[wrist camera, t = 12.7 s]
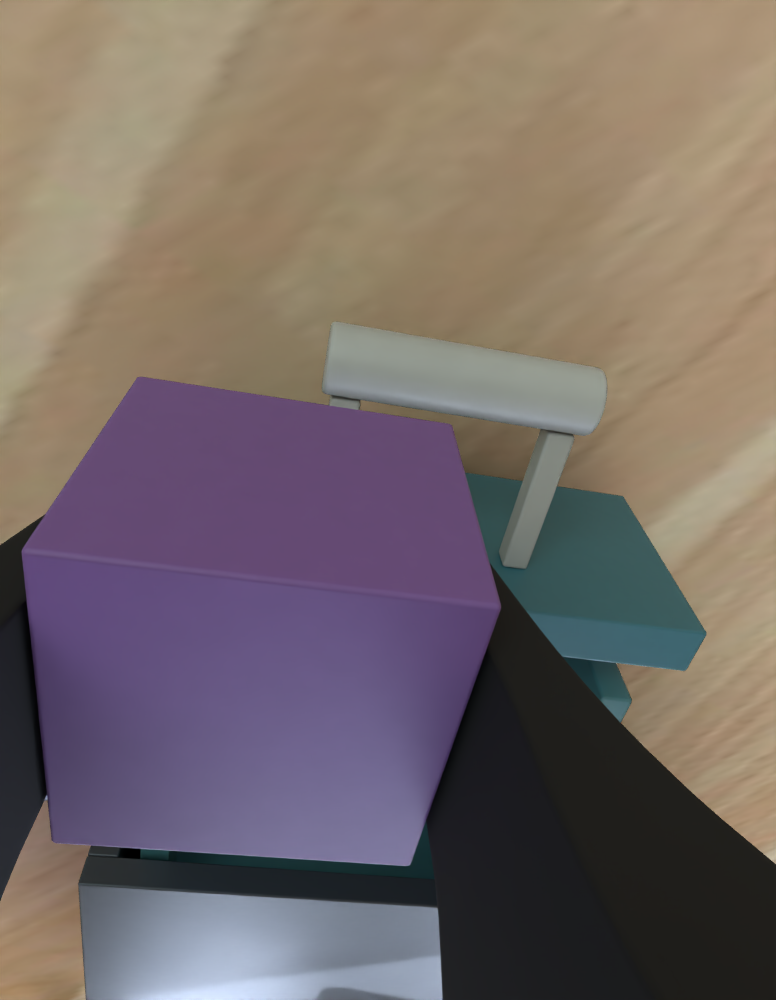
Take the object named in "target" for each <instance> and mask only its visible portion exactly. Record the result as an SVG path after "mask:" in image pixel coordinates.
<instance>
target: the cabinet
mask: <svg viewBox="0 0 776 1000" xmlns="http://www.w3.org/2000/svg"><path fill="white" fill-rule="evenodd" d="M140 855H141V849H139V848H123V847H108V846H93V845H91V847H90V850H89V853H88V857H87V859H86V862H85V865H84V868H83V871H82V874H81V877H80V880H79V883H78V886H79V901H80V916H81V932H82V947H83V962H84V977H85V992H86V1000H443V997H442V977H441V957H440V937H439V917H438V907H437V897H436V888H435V879H422V878H408V877H393V876H379V875H364V874H349V873H335V872H320V871H306V870H291V869H277V868H262V867H248V866H233V865H219V864H204V863H190V862H175V861H160V860H146V859H140Z"/></svg>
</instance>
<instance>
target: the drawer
mask: <svg viewBox="0 0 776 1000" xmlns="http://www.w3.org/2000/svg"><path fill="white" fill-rule="evenodd" d="M322 392H323V393H325V394H328V395H330V400H329V406H336V407H342V408H349V409H355V410H360V400H365V401H371V402H378V403H384V404H390V405H396V406H402V407H409V408H415V409H421V410H427V411H433V412H439V413H446V414H452V415H458V416H464V417H470V418H477V419H483V420H489V421H495V422H501V423H507V424H514V425H520V426H526V427H532V428H538V429H541V430H540V433H539V436H538V438H537V441H536V444H535V447H534V450H533V453H532V456H531V459H530V462H529V465H528V468H527V471H526V474H525V476H524V479H523V481H518V480H512V479H505V478H499V477H492V476H485V475H479V474H472V473H465V475H466V478H467V482H468V486H469V489H470V493H471V497H472V500H473V504H474V508H475V511H476V515H477V519H478V522H479V526H480V530H481V533H482V537H483V541H484V544H485V548H486V552H487V555H488V559H489V563H490V564H491V565H492V566H493V568H494V569H495V570H496V572H497V573H498V574H499V576H500V577H501V578H502V580H503V581H504V582H505V584H506V585H507V586H508V588H509V589H510V590H511V592H512V593H513V594H514V596H515V597H516V598H517V600H518V601H519V602H520V604H521V605H522V606H523V608H524V609H525V610H526V611H527V613H528V614H529V615H530V617H531V618H532V619H533V621H534V622H535V623H536V624H537V626H538V627H539V628H540V630H541V631H542V632H543V633H544V635H545V636H546V637H547V638H548V640H549V641H550V642H551V643H552V645H553V646H554V647H555V648H556V650H557V651H558V652H559V653H560V654H561V656H562V657H563V658H564V659H565V661H566V662H567V663H568V664H569V665H570V667H571V668H572V669H573V670H574V671H575V672H576V674H577V675H578V676H579V677H580V678H581V679H582V681H583V682H584V683H585V684H586V685H587V686H588V688H589V689H590V690H591V691H592V692H593V693H594V694H595V695H596V696H597V697H598V699H599V700H600V701H601V702H602V703H603V704H604V705H605V706H606V707H607V708H608V710H609V711H610V712H611V713H612V714H613V715H614V716H615V717H616V718H617V719H618V721H619V722H620V723H621V721H622V719H623V717H624V715H625V714H626V712H627V710H628V708H629V706H630V704H631V702H632V699H631V697H630V694H629V692H628V690H627V687H626V685H625V683H624V680H623V678H622V676H621V673H620V671H619V669H618V667H617V664H616V663H621V664H629V665H638V666H647V667H655V668H664V669H673V670H681V671H685V670H686V669H687V668H688V666H689V664H690V662H691V661H692V659H693V657H694V656H695V654H696V652H697V650H698V649H699V647H700V645H701V643H702V642H703V640H704V638H705V636H706V631H705V630H704V628H703V626H702V625H701V623H700V621H699V620H698V618H697V616H696V615H695V613H694V612H693V610H692V608H691V607H690V605H689V603H688V602H687V600H686V598H685V597H684V595H683V594H682V592H681V590H680V589H679V587H678V585H677V584H676V582H675V580H674V579H673V577H672V576H671V574H670V572H669V571H668V569H667V567H666V566H665V564H664V562H663V561H662V559H661V557H660V556H659V554H658V553H657V551H656V549H655V548H654V546H653V544H652V543H651V541H650V539H649V538H648V536H647V535H646V533H645V531H644V530H643V528H642V526H641V525H640V523H639V521H638V520H637V518H636V517H635V515H634V513H633V512H632V510H631V508H630V507H629V505H628V503H627V502H626V500H625V499H624V497H623V496H618V495H611V494H605V493H598V492H592V491H585V490H578V489H572V488H565V487H558V486H557V485H558V482H559V480H560V477H561V474H562V472H563V469H564V466H565V464H566V461H567V458H568V456H569V453H570V450H571V447H572V445H573V442H574V435H573V434H575V435H582V436H585V435H588V434H590V433H592V432H593V431H594V430H595V428H596V427H597V425H598V424H599V422H600V420H601V417H602V415H603V412H604V408H605V404H606V399H607V379H606V375H605V373H604V372H603V371H602V370H601V369H600V368H597V367H592V366H586V365H580V364H575V363H569V362H563V361H558V360H552V359H546V358H541V357H535V356H529V355H524V354H518V353H512V352H507V351H501V350H495V349H490V348H484V347H478V346H473V345H467V344H461V343H456V342H450V341H444V340H439V339H433V338H427V337H421V336H416V335H410V334H404V333H399V332H393V331H387V330H382V329H376V328H370V327H365V326H359V325H353V324H348V323H342V322H333V323H332V325H331V328H330V333H329V339H328V346H327V352H326V359H325V366H324V373H323V381H322ZM140 859H146V860H160V861H175V862H190V863H204V864H219V865H233V866H248V867H262V868H277V869H291V870H306V871H320V872H335V873H349V874H364V875H379V876H393V877H408V878H422V879H435V878H434V871H433V864H432V857H431V850H430V843H429V836H428V829H427V823H426V822H425V825H424V828H423V831H422V833H421V836H420V839H419V842H418V845H417V848H416V850H415V853H414V856H413V859H412V862H411V864H410V865H408V866H398V865H383V864H368V863H353V862H337V861H322V860H307V859H291V858H276V857H261V856H246V855H230V854H215V853H200V852H185V851H169V850H154V849H141V855H140Z"/></svg>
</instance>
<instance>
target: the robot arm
mask: <svg viewBox="0 0 776 1000" xmlns="http://www.w3.org/2000/svg"><path fill="white" fill-rule="evenodd" d="M44 516H45V515H43V516H42V517H41V518H39V519H38V520H36V521H35V522H33V523H32V524H30V525H29V526H27V527H26V528H24V529H23V530H22V531H20V532H19V533H17V534H16V535H14V536H13V537H11V538H10V539H9V540H7V541H6V542H4V543H3V544H1V545H0V901H1V898H2V895H3V892H4V890H5V887H6V885H7V883H8V880H9V878H10V875H11V873H12V871H13V868H14V866H15V863H16V861H17V859H18V856H19V854H20V852H21V849H22V847H23V845H24V843H25V841H26V839H27V837H28V834H29V832H30V830H31V828H32V826H33V824H34V821H35V819H36V817H37V815H38V813H39V811H40V809H41V806H42V804H43V802H44V801H45V800H48V799H47V789H46V780H45V770H44V761H43V751H42V742H41V732H40V723H39V713H38V704H37V694H36V685H35V675H34V666H33V656H32V647H31V637H30V628H29V618H28V609H27V599H26V590H25V580H24V571H23V561H22V549H23V547H24V546H25V544H26V543H27V541H28V540H29V538H30V537H31V535H32V534H33V532H34V531H35V529H36V528H37V526H38V525H39V523H40V522H41V520H42V519H43V517H44ZM490 566H491V570H492V574H493V577H494V581H495V585H496V588H497V592H498V596H499V600H500V603H501V610H500V613H499V616H498V618H497V621H496V624H495V627H494V630H493V633H492V635H491V638H490V641H489V644H488V647H487V650H486V652H485V655H484V658H483V661H482V664H481V667H480V669H479V672H478V675H477V678H476V681H475V683H474V686H473V689H472V692H471V695H470V698H469V700H468V703H467V706H466V709H465V712H464V715H463V717H462V720H461V723H460V726H459V729H458V732H457V734H456V737H455V740H454V743H453V746H452V749H451V751H450V754H449V757H448V760H447V763H446V766H445V768H444V771H443V774H442V777H441V780H440V783H439V785H438V788H437V791H436V794H435V797H434V799H433V802H432V805H431V808H430V811H429V814H428V816H427V819H426V823H427V829H428V836H429V843H430V850H431V857H432V864H433V871H434V878H435V888H436V897H437V907H438V917H439V937H440V957H441V977H442V997H443V1000H776V864H775V863H774V862H772V861H771V860H770V859H769V858H768V857H766V856H765V855H764V854H763V853H762V852H760V851H759V850H758V849H757V848H756V847H754V846H753V845H752V844H751V843H750V842H748V841H747V840H746V839H745V838H744V837H743V836H741V835H740V834H739V833H738V832H737V831H735V830H734V829H733V828H732V827H731V826H729V825H728V824H727V823H726V822H725V821H723V820H722V819H721V818H720V817H719V816H718V815H716V814H715V813H714V812H713V811H712V810H711V809H710V808H709V807H707V806H706V805H705V804H704V803H703V802H702V801H701V800H700V799H698V798H697V797H696V796H695V795H694V794H693V793H692V792H691V791H690V790H688V789H687V788H686V787H685V786H684V785H683V784H682V783H681V782H680V781H679V780H678V779H677V778H676V777H675V776H674V775H673V774H672V773H671V772H670V771H669V770H668V769H667V768H665V767H664V766H663V765H662V764H661V763H660V762H659V761H658V760H657V759H656V758H655V757H654V756H653V755H652V754H651V753H650V752H649V751H648V750H647V749H646V748H645V747H644V746H643V745H642V744H641V743H640V742H639V741H638V740H637V739H636V738H635V737H634V736H633V735H632V734H631V733H630V732H629V731H628V730H627V729H626V728H625V727H624V726H623V725H622V724H621V723H620V722H619V721H618V719H617V718H616V717H615V716H614V715H613V714H612V713H611V712H610V711H609V710H608V708H607V707H606V706H605V705H604V704H603V703H602V702H601V701H600V700H599V699H598V697H597V696H596V695H595V694H594V693H593V692H592V691H591V690H590V689H589V688H588V686H587V685H586V684H585V683H584V682H583V681H582V679H581V678H580V677H579V676H578V675H577V674H576V672H575V671H574V670H573V669H572V668H571V667H570V665H569V664H568V663H567V662H566V661H565V659H564V658H563V657H562V656H561V654H560V653H559V652H558V651H557V650H556V648H555V647H554V646H553V645H552V643H551V642H550V641H549V640H548V638H547V637H546V636H545V635H544V633H543V632H542V631H541V630H540V628H539V627H538V626H537V624H536V623H535V622H534V621H533V619H532V618H531V617H530V615H529V614H528V613H527V611H526V610H525V609H524V608H523V606H522V605H521V604H520V602H519V601H518V600H517V598H516V597H515V596H514V594H513V593H512V592H511V590H510V589H509V588H508V586H507V585H506V584H505V582H504V581H503V580H502V578H501V577H500V576H499V574H498V573H497V572H496V570H495V569H494V568H493V566H492V565H491V564H490Z"/></svg>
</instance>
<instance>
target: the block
mask: <svg viewBox="0 0 776 1000" xmlns="http://www.w3.org/2000/svg"><path fill="white" fill-rule="evenodd" d="M22 561H23V571H24V580H25V590H26V599H27V609H28V618H29V628H30V637H31V647H32V656H33V666H34V675H35V685H36V694H37V704H38V713H39V723H40V732H41V742H42V751H43V761H44V770H45V780H46V789H47V799H48V808H49V818H50V828H51V837H52V841H53V842H55V843H62V844H78V845H93V846H108V847H123V848H139V849H154V850H169V851H185V852H200V853H215V854H230V855H246V856H261V857H276V858H291V859H307V860H322V861H337V862H353V863H368V864H383V865H398V866H408V865H410V864H411V862H412V859H413V856H414V853H415V850H416V848H417V845H418V842H419V839H420V836H421V833H422V831H423V828H424V825H425V822H426V819H427V816H428V814H429V811H430V808H431V805H432V802H433V799H434V797H435V794H436V791H437V788H438V785H439V783H440V780H441V777H442V774H443V771H444V768H445V766H446V763H447V760H448V757H449V754H450V751H451V749H452V746H453V743H454V740H455V737H456V734H457V732H458V729H459V726H460V723H461V720H462V717H463V715H464V712H465V709H466V706H467V703H468V700H469V698H470V695H471V692H472V689H473V686H474V683H475V681H476V678H477V675H478V672H479V669H480V667H481V664H482V661H483V658H484V655H485V652H486V650H487V647H488V644H489V641H490V638H491V635H492V633H493V630H494V627H495V624H496V621H497V618H498V616H499V613H500V610H501V603H500V600H499V596H498V592H497V588H496V585H495V581H494V577H493V574H492V570H491V566H490V563H489V559H488V555H487V552H486V548H485V544H484V541H483V537H482V533H481V530H480V526H479V522H478V519H477V515H476V511H475V508H474V504H473V500H472V497H471V493H470V489H469V486H468V482H467V478H466V475H465V471H464V467H463V464H462V460H461V456H460V453H459V449H458V445H457V442H456V438H455V434H454V430H453V427H452V425H450V424H447V423H440V422H434V421H427V420H421V419H414V418H408V417H401V416H395V415H388V414H381V413H375V412H368V411H362V410H355V409H349V408H342V407H336V406H329V405H323V404H316V403H310V402H303V401H296V400H290V399H283V398H277V397H270V396H264V395H257V394H251V393H244V392H238V391H231V390H225V389H218V388H211V387H205V386H198V385H192V384H185V383H179V382H172V381H166V380H159V379H153V378H146V377H137V379H136V380H135V382H134V383H133V385H132V386H131V388H130V389H129V391H128V392H127V393H126V395H125V396H124V398H123V399H122V401H121V402H120V404H119V405H118V407H117V408H116V410H115V411H114V413H113V414H112V416H111V417H110V419H109V420H108V422H107V423H106V425H105V426H104V428H103V429H102V431H101V432H100V434H99V435H98V437H97V438H96V440H95V441H94V443H93V444H92V446H91V447H90V449H89V450H88V452H87V453H86V455H85V456H84V458H83V459H82V461H81V462H80V464H79V465H78V467H77V468H76V470H75V471H74V472H73V474H72V475H71V477H70V478H69V480H68V481H67V483H66V484H65V486H64V487H63V489H62V490H61V492H60V493H59V495H58V496H57V498H56V499H55V501H54V502H53V504H52V505H51V507H50V508H49V510H48V511H47V513H46V514H45V516H44V517H43V519H42V520H41V522H40V523H39V525H38V526H37V528H36V529H35V531H34V532H33V534H32V535H31V537H30V538H29V540H28V541H27V543H26V544H25V546H24V547H23V549H22Z"/></svg>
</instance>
